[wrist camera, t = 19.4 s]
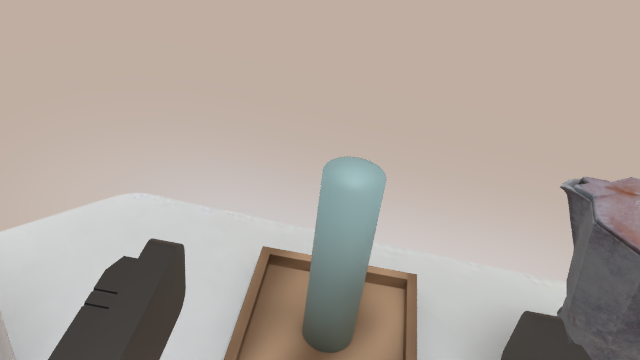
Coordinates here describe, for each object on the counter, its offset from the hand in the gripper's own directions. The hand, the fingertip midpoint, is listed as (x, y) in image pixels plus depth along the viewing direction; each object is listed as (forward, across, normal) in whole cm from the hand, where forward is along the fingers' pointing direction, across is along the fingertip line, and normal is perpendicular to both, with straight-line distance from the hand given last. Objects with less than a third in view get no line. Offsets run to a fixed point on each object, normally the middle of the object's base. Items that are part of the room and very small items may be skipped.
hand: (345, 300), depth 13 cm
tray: (+19, 0, +26) cm, 32 cm away
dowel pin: (+19, 0, +25) cm, 32 cm away
